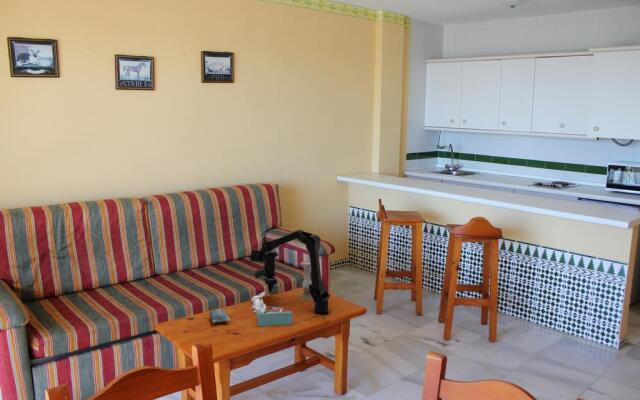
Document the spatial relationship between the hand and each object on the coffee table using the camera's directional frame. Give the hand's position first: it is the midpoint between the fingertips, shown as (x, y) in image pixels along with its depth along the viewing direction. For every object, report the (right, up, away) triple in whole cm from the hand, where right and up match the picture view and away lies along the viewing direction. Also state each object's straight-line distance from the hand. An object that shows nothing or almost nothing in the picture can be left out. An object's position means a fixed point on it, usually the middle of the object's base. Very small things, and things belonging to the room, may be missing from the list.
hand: (269, 292), depth 293 cm
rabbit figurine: (-4, -8, -10) cm, 14 cm away
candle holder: (+20, -5, +10) cm, 23 cm away
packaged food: (-20, -12, -27) cm, 35 cm away
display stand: (+4, -10, -24) cm, 27 cm away
